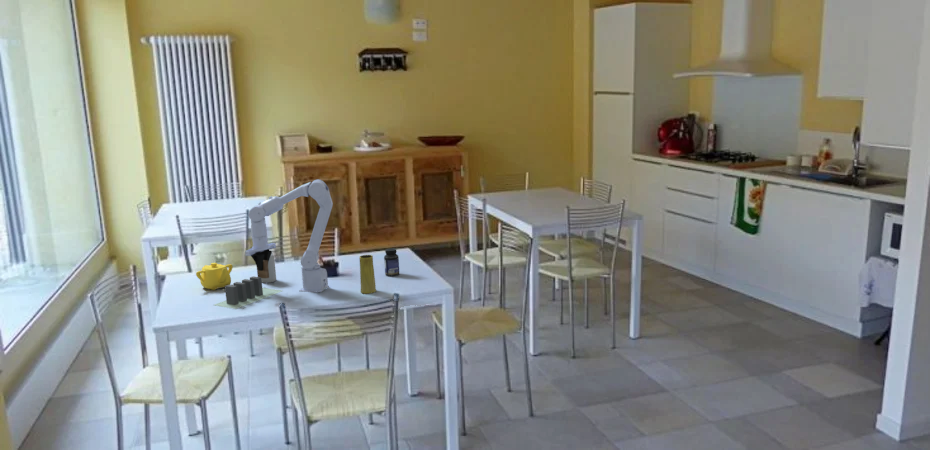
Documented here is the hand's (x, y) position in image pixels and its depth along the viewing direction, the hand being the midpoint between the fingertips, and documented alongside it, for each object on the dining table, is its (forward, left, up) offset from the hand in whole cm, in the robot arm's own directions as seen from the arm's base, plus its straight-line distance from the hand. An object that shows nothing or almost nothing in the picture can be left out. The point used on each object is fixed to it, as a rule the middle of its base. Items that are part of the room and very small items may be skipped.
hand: (262, 269), depth 281 cm
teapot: (+24, -5, -10) cm, 27 cm away
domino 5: (0, 0, -3) cm, 3 cm away
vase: (-42, -7, -10) cm, 43 cm away
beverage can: (+6, -15, -10) cm, 19 cm away
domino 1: (+4, +16, -9) cm, 19 cm away
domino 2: (+3, +12, -9) cm, 16 cm away
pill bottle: (-43, -32, -10) cm, 54 cm away
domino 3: (+2, +8, -9) cm, 12 cm away
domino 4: (+1, +4, -9) cm, 10 cm away
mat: (+2, +8, -9) cm, 13 cm away
